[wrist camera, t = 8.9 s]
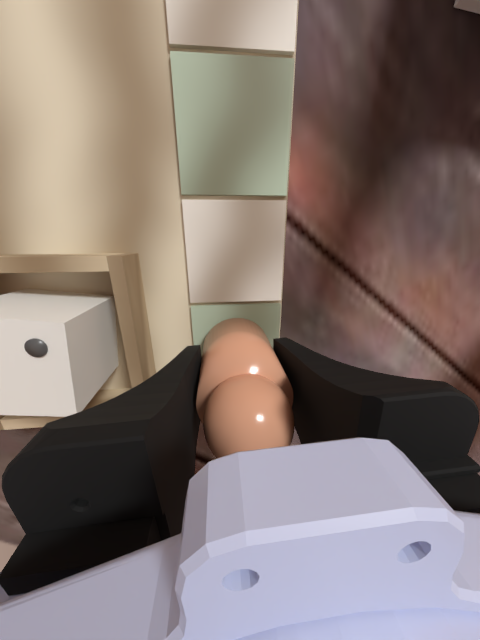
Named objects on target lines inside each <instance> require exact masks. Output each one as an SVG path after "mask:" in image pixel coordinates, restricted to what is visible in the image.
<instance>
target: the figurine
mask: <svg viewBox="0 0 480 640" xmlns="http://www.w3.org/2000/svg"><path fill="white" fill-rule="evenodd" d="M454 8H458V9H462V10H466V11H470V12H474V13H478V14H480V0H455V4H454Z"/></svg>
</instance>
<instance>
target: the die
mask: <svg viewBox="0 0 480 640" xmlns="http://www.w3.org/2000/svg"><path fill="white" fill-rule="evenodd" d="M117 367H118V348H117V332H116V316H115V299H114V296H108V295H97V294H86V293H74V292H63V291H52V290H40V289H29V288H27V289H23V290H19V291H15V292H11V293H7V294H3V295H0V415H15V416H54V417H67V416H70V415H73V414H75V413H78V412H81V411H83V409H84V408H85V407H86V405H87V404H88V403H89V402H90V400H91V399H92V398H93V397H94V395H95V394H96V393H97V392H98V390H99V389H100V388H101V387H102V385H103V384H104V383H105V382H106V380H107V379H108V378H109V377H110V375H111V374H112V373H113V372H114V370H115V369H116V368H117Z"/></svg>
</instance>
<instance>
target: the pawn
mask: <svg viewBox="0 0 480 640" xmlns="http://www.w3.org/2000/svg"><path fill="white" fill-rule="evenodd" d="M292 405H293V389H292V386H291V383H290V381H289V379H288V377H287V375H286V373H285V371H284V369H283V367H282V366H281V364H280V362H279V360H278V358H277V356H276V354H275V352H274V350H273V348H272V346H271V344H270V342H269V340H268V338H267V336H266V334H265V332H264V331H263V329H262V328H261V327H260V326H259V325H257V324H256V323H254V322H253V321H250V320H248V319H244V318H231V319H227V320H224V321H221V322H220V323H218V324H216V325H215V326H214V327H213V328H212V329H211V330H210V331H209V332H208V334H207V335H206V338H205V340H204V344H203V352H202V360H201V368H200V375H199V383H198V391H197V399H196V409H197V413H198V416H199V418H200V420H201V422H202V423H203V427H204V434H205V438H206V441H207V443H208V446H209V448H210V449H211V451H212V453H213V454H214V456H215V457H216V458H220V457H223V456H226V455H229V454H232V453H235V452H240V451H248V450H256V449H265V448H273V447H281V446H290V444H291V442H292V438H293V434H294V414H293V410H292Z"/></svg>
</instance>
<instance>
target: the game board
mask: <svg viewBox="0 0 480 640" xmlns="http://www.w3.org/2000/svg"><path fill="white" fill-rule="evenodd" d="M298 3H299V0H0V295H3V294H7V293H11V292H15V291H19V290H23V289H27V288H29V289H40V290H52V291H63V292H74V293H86V294H97V295H108V296H114V299H115V316H116V332H117V348H118V367H117V368H116V369H115V370H114V372H113V373H112V374H111V375H110V377H109V378H108V379H107V380H106V382H105V383H104V384H103V385H102V387H101V388H100V389H99V390H98V392H97V393H96V394H95V395H94V397H93V398H92V399H91V400H90V402H89V403H88V404H87V405H86V407H85V408H84V409H83V411H84V410H86V409H89V408H92V407H94V406H96V405H99V404H101V403H104V402H106V401H108V400H110V399H112V398H115V397H117V396H119V395H120V394H122V393H124V392H126V391H128V390H130V389H132V388H134V387H136V386H137V385H139V384H141V383H142V382H144V381H145V380H147V379H148V378H150V377H151V376H153V375H154V374H156V373H157V372H158V371H159V370H161V369H162V368H163V367H164V366H166V365H167V364H168V363H169V362H170V361H172V360H173V359H174V358H175V357H176V356H177V355H178V354H179V353H180V352H181V351H182V350H183V349H185V348H186V347H187V346H192V345H200V347H201V356H202V352H203V344H204V340H205V338H206V335H207V334H208V332H209V331H210V330H211V329H212V328H213V327H214V326H215V325H216V324H218V323H220V322H221V321H224V320H227V319H231V318H244V319H248V320H250V321H253V322H254V323H256V324H257V325H259V326H260V327H261V328H262V329H263V331H264V332H265V334H266V336H267V338H268V340H269V342H270V344H271V346H272V348H273V339H275V338H280V324H281V306H282V288H283V271H284V253H285V235H286V217H287V199H288V181H289V164H290V146H291V128H292V110H293V92H294V74H295V56H296V39H297V21H298ZM61 418H64V417H54V416H15V415H0V430H9V429H23V428H37V427H44V426H45V424H46V423H49V422H52V421H55V420H58V419H61Z"/></svg>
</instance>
